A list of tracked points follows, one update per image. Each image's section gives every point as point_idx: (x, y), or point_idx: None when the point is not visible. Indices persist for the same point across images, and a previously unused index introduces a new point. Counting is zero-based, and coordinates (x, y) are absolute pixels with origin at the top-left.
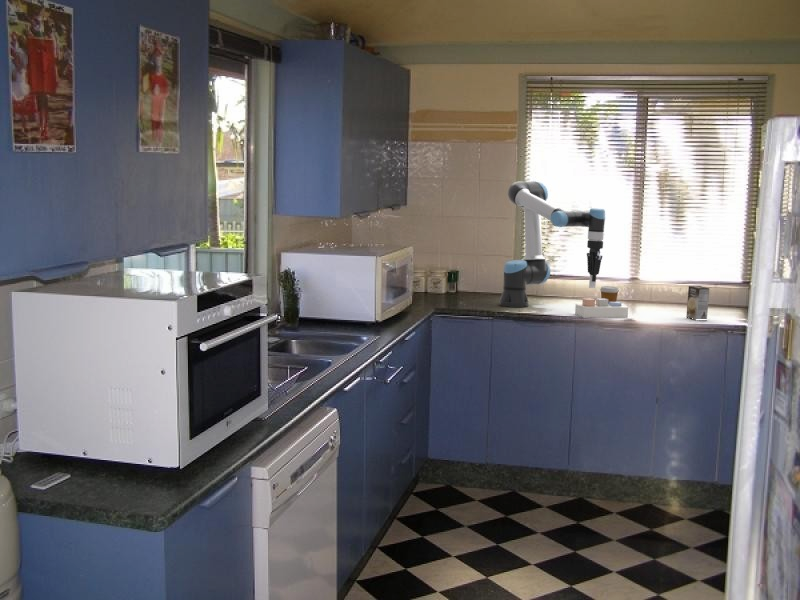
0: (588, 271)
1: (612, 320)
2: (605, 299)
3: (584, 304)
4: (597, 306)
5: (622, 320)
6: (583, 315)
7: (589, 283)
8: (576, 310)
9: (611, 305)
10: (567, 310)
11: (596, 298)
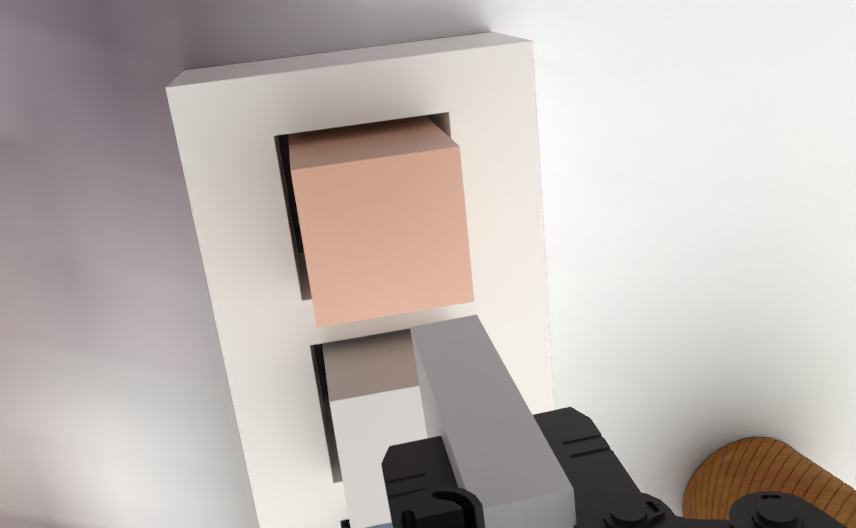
0: (752, 519)
1: (13, 394)
2: (372, 492)
3: (356, 142)
4: (307, 324)
5: (44, 507)
6: (197, 70)
7: (488, 358)
8: (462, 40)
9: (390, 524)
10: (778, 9)
11: None
